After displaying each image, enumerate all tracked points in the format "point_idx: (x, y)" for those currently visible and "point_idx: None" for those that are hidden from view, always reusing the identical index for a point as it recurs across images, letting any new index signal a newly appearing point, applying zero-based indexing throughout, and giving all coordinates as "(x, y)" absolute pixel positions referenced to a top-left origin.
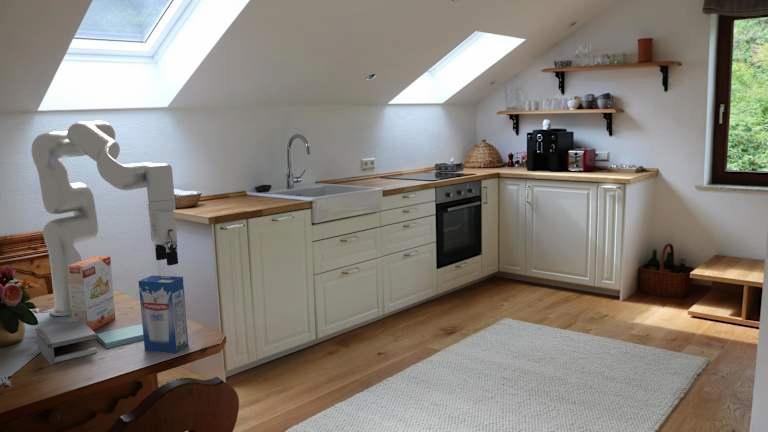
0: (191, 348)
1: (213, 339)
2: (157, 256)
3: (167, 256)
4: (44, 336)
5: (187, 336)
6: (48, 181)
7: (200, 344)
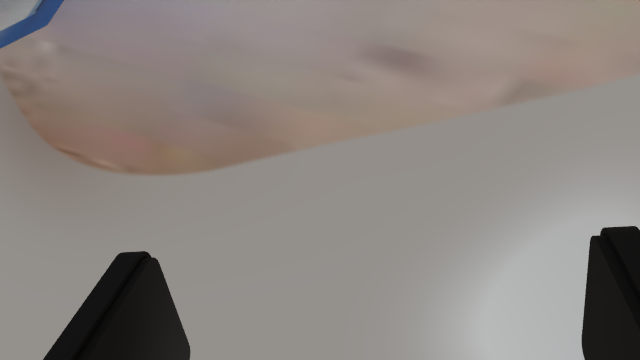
0: None
1: (92, 143)
2: (609, 276)
3: (61, 351)
4: None
5: (17, 37)
6: None
7: (45, 77)
